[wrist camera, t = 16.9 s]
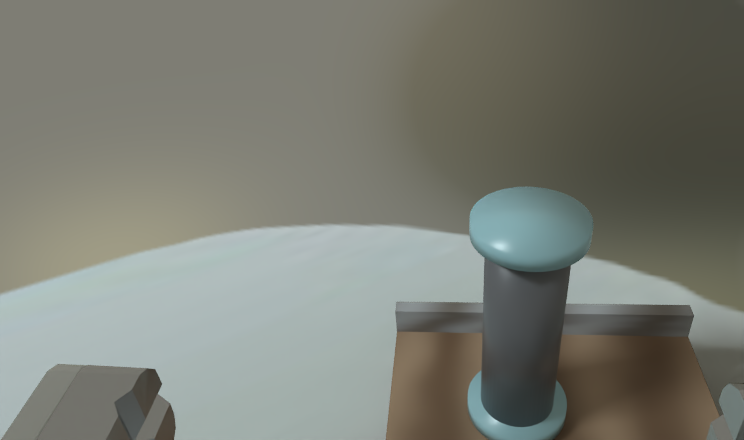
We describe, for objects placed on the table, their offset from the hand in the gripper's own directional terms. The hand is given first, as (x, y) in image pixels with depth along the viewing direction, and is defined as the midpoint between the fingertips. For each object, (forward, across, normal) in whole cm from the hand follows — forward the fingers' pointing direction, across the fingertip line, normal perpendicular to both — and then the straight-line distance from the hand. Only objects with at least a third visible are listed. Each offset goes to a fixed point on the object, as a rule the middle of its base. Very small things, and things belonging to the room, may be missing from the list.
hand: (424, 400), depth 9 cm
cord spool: (+21, -4, +26) cm, 33 cm away
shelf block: (+21, -6, +30) cm, 37 cm away
